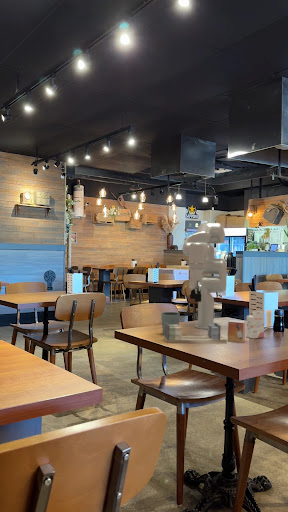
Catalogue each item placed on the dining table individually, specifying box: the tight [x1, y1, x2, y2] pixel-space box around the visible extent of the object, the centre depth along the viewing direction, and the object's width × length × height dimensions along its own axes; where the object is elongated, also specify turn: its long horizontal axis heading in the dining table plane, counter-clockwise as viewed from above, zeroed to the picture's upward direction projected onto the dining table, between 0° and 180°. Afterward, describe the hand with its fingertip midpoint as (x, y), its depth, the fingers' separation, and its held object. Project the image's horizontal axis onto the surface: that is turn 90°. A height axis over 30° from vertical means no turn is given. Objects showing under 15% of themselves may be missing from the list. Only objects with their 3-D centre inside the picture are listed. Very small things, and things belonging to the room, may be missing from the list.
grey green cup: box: [160, 311, 181, 336], centre depth 232 cm, size 10×10×12 cm
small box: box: [227, 319, 246, 344], centre depth 219 cm, size 8×6×10 cm
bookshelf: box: [163, 322, 228, 345], centre depth 216 cm, size 11×30×9 cm, turn 96°
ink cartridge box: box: [246, 310, 265, 339], centre depth 231 cm, size 9×5×15 cm, turn 117°
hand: (195, 300), depth 216 cm, fingers open, 9 cm apart
